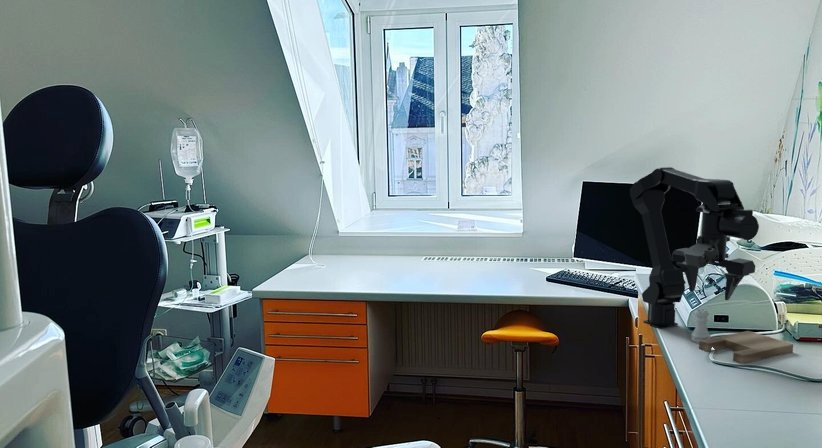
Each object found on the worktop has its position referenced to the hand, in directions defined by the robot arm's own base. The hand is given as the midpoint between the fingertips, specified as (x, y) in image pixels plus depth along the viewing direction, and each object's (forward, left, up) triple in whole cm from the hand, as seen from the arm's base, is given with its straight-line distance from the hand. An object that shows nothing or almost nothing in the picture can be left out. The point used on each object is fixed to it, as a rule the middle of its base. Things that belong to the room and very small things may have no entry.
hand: (709, 295), depth 167 cm
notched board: (+8, +3, -12) cm, 15 cm away
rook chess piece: (-2, 0, -12) cm, 12 cm away
